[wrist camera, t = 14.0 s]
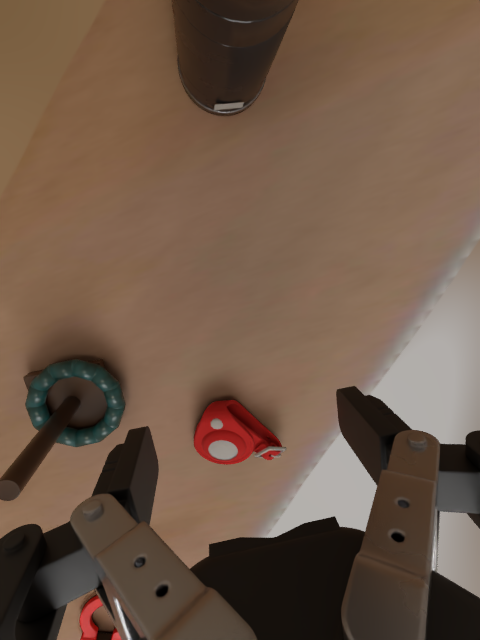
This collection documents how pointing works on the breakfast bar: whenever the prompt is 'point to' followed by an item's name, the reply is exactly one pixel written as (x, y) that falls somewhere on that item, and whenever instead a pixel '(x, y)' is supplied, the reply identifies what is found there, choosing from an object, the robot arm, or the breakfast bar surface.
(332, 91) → the breakfast bar surface
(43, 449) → the brown peg stand
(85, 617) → the tow hook
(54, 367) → the ring
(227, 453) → the tracker holder
